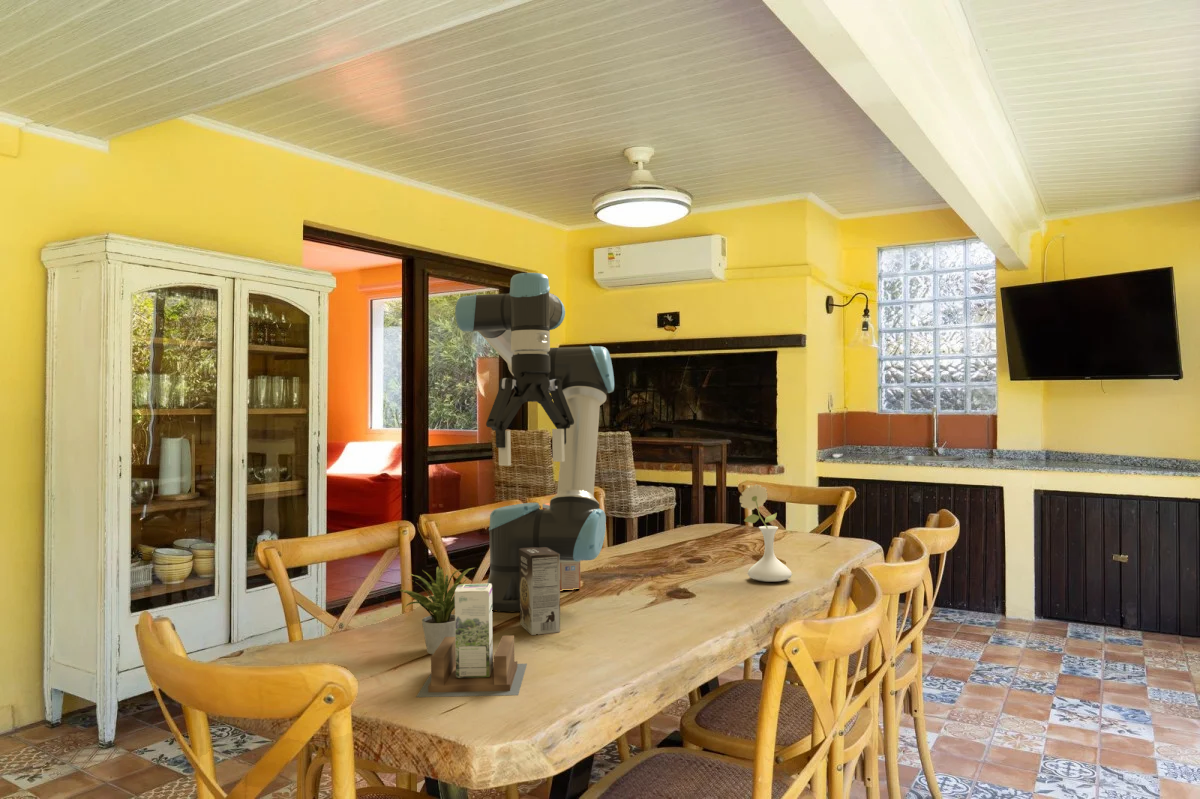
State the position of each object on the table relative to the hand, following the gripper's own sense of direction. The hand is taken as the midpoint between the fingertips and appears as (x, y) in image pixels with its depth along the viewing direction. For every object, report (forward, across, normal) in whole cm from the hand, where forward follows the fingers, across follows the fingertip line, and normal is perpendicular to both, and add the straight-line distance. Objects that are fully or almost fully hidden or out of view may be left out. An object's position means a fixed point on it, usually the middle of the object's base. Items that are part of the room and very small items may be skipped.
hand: (532, 463), depth 157 cm
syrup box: (+34, -21, -9) cm, 41 cm away
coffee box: (+35, +8, +8) cm, 37 cm away
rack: (+34, -21, -9) cm, 41 cm away
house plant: (+35, -14, +10) cm, 39 cm away
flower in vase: (+35, +78, -1) cm, 85 cm away
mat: (+35, -21, -9) cm, 42 cm away
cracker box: (+35, +39, +35) cm, 63 cm away
